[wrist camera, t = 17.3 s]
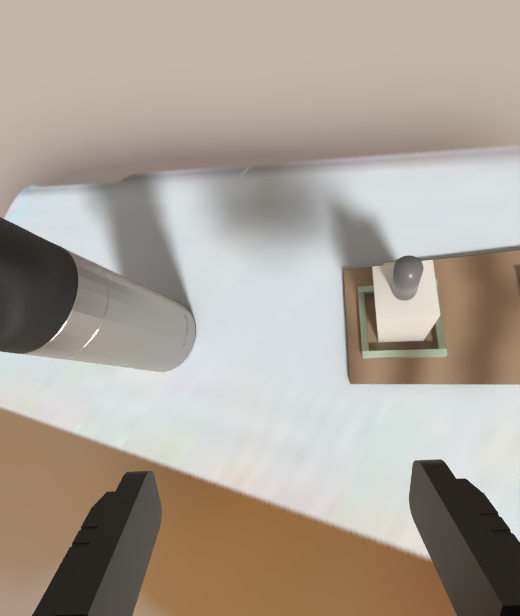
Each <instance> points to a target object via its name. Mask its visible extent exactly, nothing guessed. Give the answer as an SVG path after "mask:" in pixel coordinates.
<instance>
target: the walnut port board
mask: <svg viewBox="0 0 520 616" xmlns="http://www.w3.org/2000/svg"><path fill="white" fill-rule="evenodd" d="M433 265H434V272H435V280H436V287H437V294H438V301H439V309H440V317H439V318H438V320H437V321H436V323H435V324H434V326H433V327H432V329H431V330H430V332H429V333H428V335H427V336H426V338H425V339H424V341H402V342H378V331H377V320H376V308H375V296H374V283H373V271H372V267H368V268H359V269H350V270H344V287H345V304H346V322H347V340H348V358H349V376H350V384H520V250H515V251H507V252H498V253H489V254H481V255H472V256H463V257H455V258H446V259H437V260H433Z"/></svg>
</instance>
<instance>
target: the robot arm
mask: <svg viewBox="0 0 520 616" xmlns="http://www.w3.org/2000/svg"><path fill="white" fill-rule="evenodd" d="M195 334H196V330H195V322H194V319H193V317H192V314H191V313H190V311H189V310H188V309H187V308H186V307H185V306H183V305H182V304H180V303H177V302H175V301H173V300H171V299H169V298H167V297H165V296H163V295H161V294H159V293H157V292H155V291H153V290H151V289H149V288H146V287H144V286H142V285H140V284H138V283H136V282H134V281H132V280H130V279H128V278H125V277H123V276H121V275H119V274H117V273H115V272H113V271H111V270H109V269H107V268H104V267H102V266H100V265H98V264H96V263H94V262H92V261H89V260H87V259H85V258H83V257H81V256H79V255H77V254H75V253H73V252H71V251H68V250H66V249H64V248H62V247H60V246H58V245H56V244H54V243H51V242H49V241H47V240H45V239H43V238H41V237H39V236H37V235H35V234H33V233H31V232H29V231H27V230H25V229H23V228H21V227H19V226H17V225H15V224H13V223H11V222H9V221H7V220H5V219H3V218H1V217H0V351H2V352H10V353H18V354H27V355H35V356H43V357H50V358H59V359H67V360H74V361H82V362H90V363H97V364H105V365H112V366H120V367H127V368H135V369H141V370H149V371H157V372H164V371H168V370H171V369H173V368H175V367H177V366H178V365H180V364H181V363H182V362H183V361H184V360H185V359H186V357H187V356H188V355H189V353H190V351H191V349H192V347H193V344H194V340H195ZM409 504H410V510H411V514H412V517H413V520H414V522H415V524H416V526H417V529H418V531H419V533H420V535H421V537H422V540H423V542H424V544H425V546H426V548H427V551H428V553H429V555H430V557H431V559H432V562H433V564H434V566H435V568H436V570H437V572H438V575H439V577H440V579H441V581H442V583H443V586H444V588H445V590H446V592H447V594H448V597H449V599H450V601H451V603H452V605H453V607H454V610H455V612H456V614H457V616H520V542H519V541H518V540H517V538H516V537H515V535H514V534H512V533H511V532H510V529H509V527H508V526H507V524H506V523H505V522H504V520H503V519H502V518H501V517H499V515H498V512H497V511H496V509H495V508H494V507H493V505H492V504H491V503H490V501H489V500H488V498H487V497H486V496H485V494H484V493H482V492H481V491H480V490H479V489H477V488H476V487H475V486H474V485H473V484H471V483H470V482H469V481H468V480H467V479H456V478H455V476H454V475H453V473H452V472H451V471H450V469H449V468H448V466H447V465H446V463H445V462H444V461H443V460H417V461H414V463H413V468H412V476H411V485H410V493H409ZM161 516H162V509H161V502H160V498H159V494H158V490H157V485H156V481H155V477H154V473H153V472H152V471H139V472H138V471H136V472H127V473H125V475H124V476H123V478H122V480H121V482H120V484H119V486H118V488H117V490H116V492H106V494H105V495H104V496H103V497H102V498H101V499H100V500H99V501H98V502H97V503H96V504H95V505H94V506H93V507H92V508H91V510H90V512H89V514H88V516H87V517H86V519H85V521H84V523H83V525H82V526H81V530H80V531H79V532H78V534H77V535H76V537H75V539H74V541H73V543H72V547H70V548H69V550H68V552H67V554H66V556H65V557H64V559H63V561H62V563H61V564H60V566H59V568H58V570H57V572H56V574H55V576H54V577H53V579H52V581H51V583H50V585H49V586H48V588H47V590H46V592H45V594H44V595H43V597H42V599H41V601H40V603H39V605H38V606H37V608H36V610H35V612H34V613H33V615H32V616H132V614H133V611H134V608H135V605H136V602H137V598H138V595H139V592H140V589H141V586H142V582H143V580H144V576H145V573H146V570H147V567H148V564H149V560H150V557H151V554H152V551H153V548H154V544H155V541H156V538H157V535H158V532H159V528H160V524H161Z"/></svg>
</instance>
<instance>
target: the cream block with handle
mask: <svg viewBox="0 0 520 616" xmlns="http://www.w3.org/2000/svg"><path fill="white" fill-rule="evenodd" d="M372 271H373V283H374V296H375V308H376V320H377V331H378V342H402V341H424V339H425V338H426V336H427V335H428V333H429V332H430V330H431V329H432V327H433V326H434V324H435V323H436V321H437V320H438V318H439V317H440V309H439V301H438V294H437V287H436V280H435V272H434V265H433V260H425V261H421V260H420V259H418V258H417V257H414V256H404V257H401V258H400V259H398V260H397V261H396V262H387V263H383V265H381V266H373V267H372Z"/></svg>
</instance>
